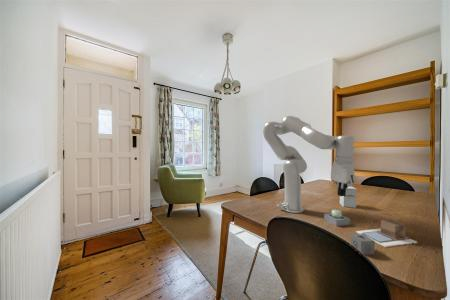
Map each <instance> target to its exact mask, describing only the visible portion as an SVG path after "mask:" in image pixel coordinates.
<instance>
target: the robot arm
mask: <svg viewBox="0 0 450 300" xmlns="http://www.w3.org/2000/svg"><path fill="white" fill-rule="evenodd" d="M289 133H293V134H295V135H296V136H299V137H300V138H302V139H303V140H304V141H305V142H307V143H309V144H310V145H312V146H314V147H316V148H318V149H319V150H320V149H321V150H335V151H334V161H333V162H332V166H331V171H330V179H331V181H332V182H334V183H335V184H336V188H337V196H339V197H340V196H345V195H346V189H347V187H354V182H355V176H356V174H355V164H354V163H353V161H354V147H355V137H354V136H353V135H337V136H336V135H330V134H329V135H327V134H325V133H322V132H321V131H319V130H316V129H315V128H313V127H312V126H311V124H309V123H308V122H305V121H303V120H301V118H299V117H295V116H293V115H287V116H285V117H284V118H283V119H282V121H281V122H278V121H268V122H267V123H266V124H265V125H264V126H263V138H264V140H265V141H266V142H267V144H268V145H269V146H270V148H271V150H272V151H273V152H274V155H276V156H277V157H276V158H278V159H279V160H280V161H285V162H283V167H282V168H283V176H284V200H283V201H282V203H277V204H276V205H277V207H280V208H281V209H282V210H283V211H285V212H287V213H291V214H293V213H294V214H300V213H303V212H304V211H305V209H304V208H303V207H302V205H301V204H302V181H301V175H300V174H303V173H304V172H305V171H306V170H307V169H308V164H307V162H306V160H305V159H304V157H303V156H302V155H301V154H300V152H299V151H298V150H297V149H296V148H295V147H294V146H291V145H287V144H286V143H285V142H284V141H283V140H282V139H281V138H280V136H282V135H286V134H289Z"/></svg>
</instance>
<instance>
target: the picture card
mask: <svg viewBox="0 0 450 300" xmlns="http://www.w3.org/2000/svg"><path fill="white" fill-rule="evenodd" d="M355 232H356V234H364V235H365V236H367V237H369V238H370V239H372V240H374V241H375V243H376V244H378V245H380V246H382V247H384V248H389V247H398V245H399V246H403V245H404V246H405V244H406V245H412V243H414V244H418V241H417V240H414V239H411V238H410V237H408V236H406V237H405V238H400V239H394V238H391V237H389V236H387V235H385V234H383V233H381V228H374V229H373V228H372V229H364V230H356V231H355Z"/></svg>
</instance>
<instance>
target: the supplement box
mask: <svg viewBox="0 0 450 300" xmlns="http://www.w3.org/2000/svg"><path fill="white" fill-rule="evenodd" d="M339 205H341V206H342V207H346V208H354V209H356V208H357V187H354V186H352V187H347V189H346V195H345V196H339Z"/></svg>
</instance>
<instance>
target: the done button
mask: <svg viewBox="0 0 450 300" xmlns="http://www.w3.org/2000/svg"><path fill="white" fill-rule="evenodd" d="M342 213H343V211H342V210H340V209H334V208H333V209H331V214H332V217H334V218H336V219H341V218H342V216H343V214H342Z"/></svg>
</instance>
